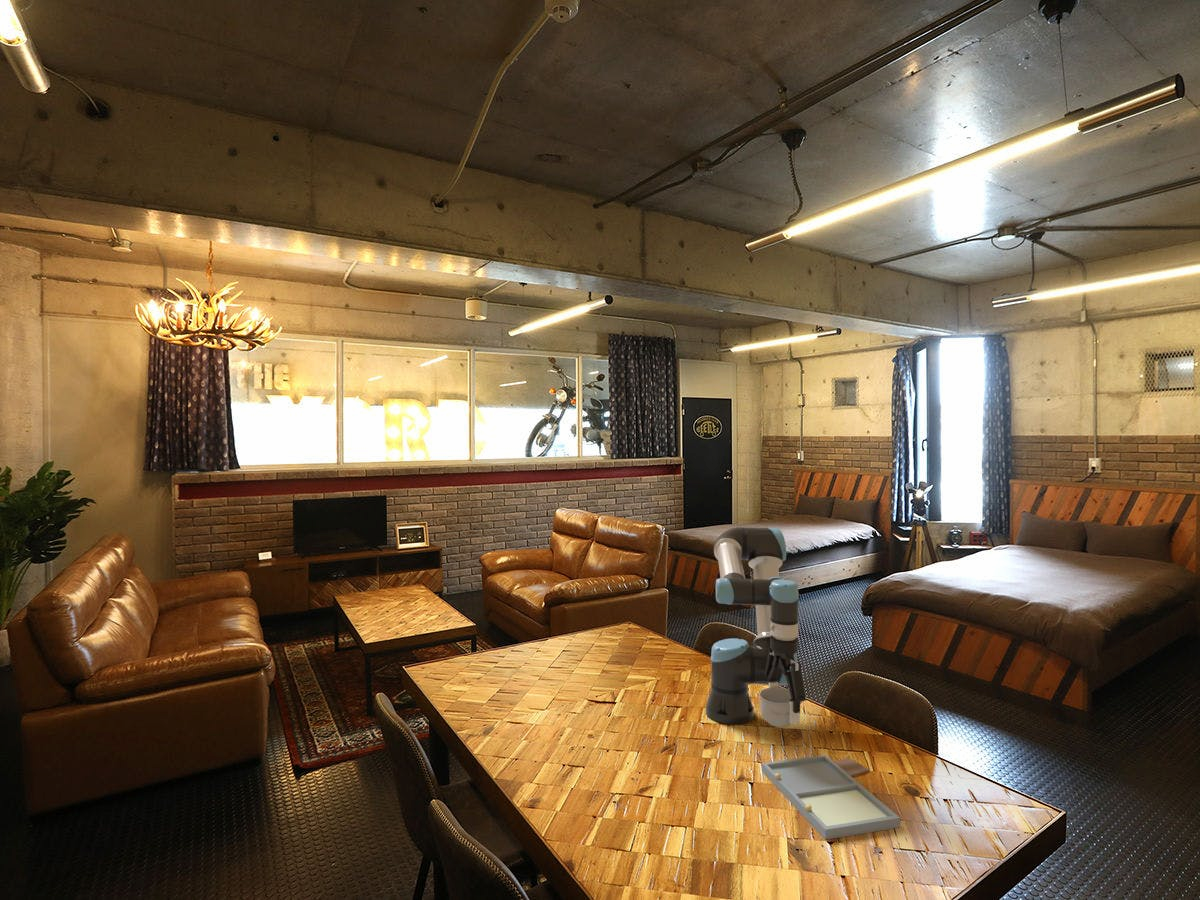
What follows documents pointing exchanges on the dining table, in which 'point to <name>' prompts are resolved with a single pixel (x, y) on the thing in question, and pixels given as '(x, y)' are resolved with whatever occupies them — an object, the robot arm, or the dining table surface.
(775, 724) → the teacup
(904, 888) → the dining table surface
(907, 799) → the dining table surface
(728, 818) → the dining table surface
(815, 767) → the grey divided tray
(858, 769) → the walnut coaster
